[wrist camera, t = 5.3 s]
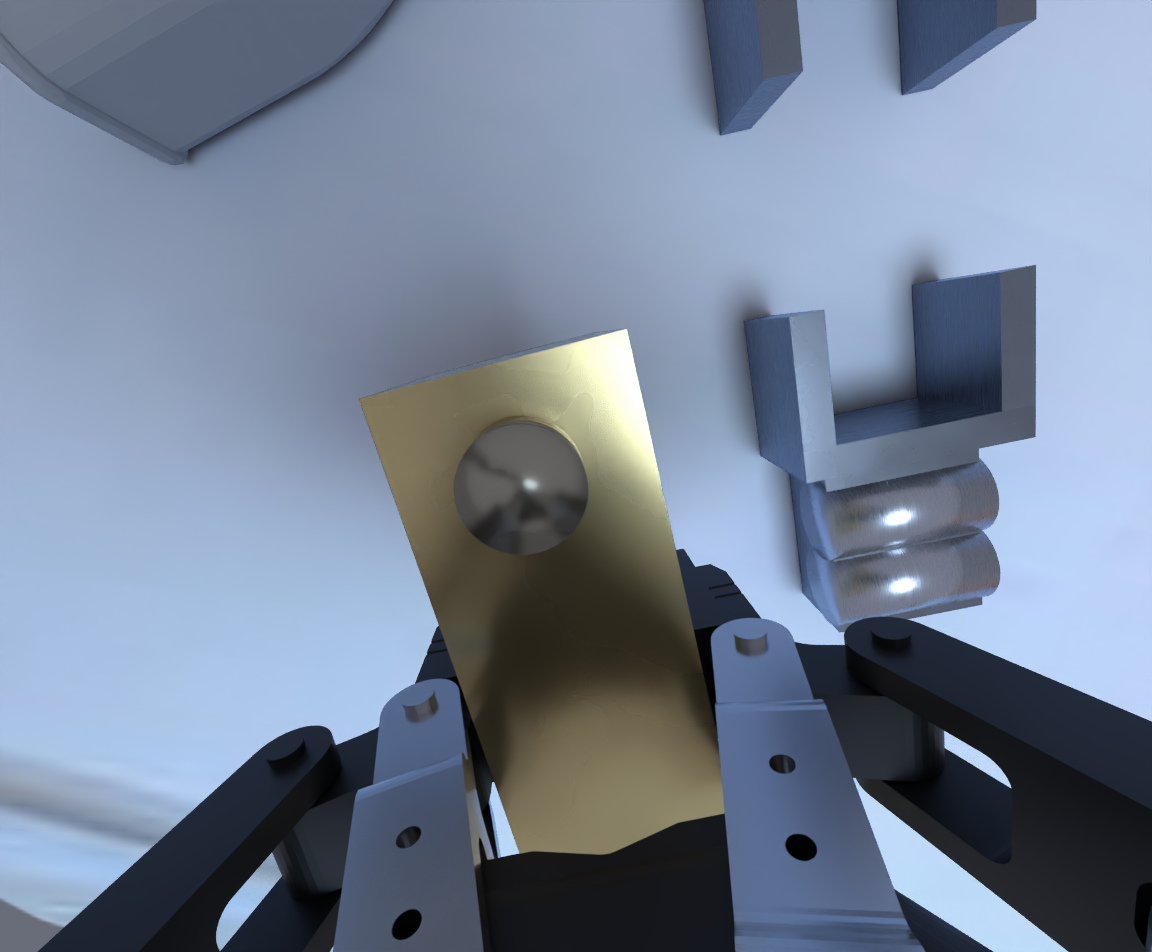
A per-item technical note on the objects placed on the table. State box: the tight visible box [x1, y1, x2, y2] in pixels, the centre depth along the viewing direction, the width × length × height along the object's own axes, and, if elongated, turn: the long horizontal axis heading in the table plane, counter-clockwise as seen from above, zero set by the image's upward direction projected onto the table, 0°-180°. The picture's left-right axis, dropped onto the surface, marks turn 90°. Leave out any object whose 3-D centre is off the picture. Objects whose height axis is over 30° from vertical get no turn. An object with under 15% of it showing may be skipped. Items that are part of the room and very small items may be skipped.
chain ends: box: [704, 0, 1036, 632], centre depth 17 cm, size 7×28×4 cm, turn 12°
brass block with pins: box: [359, 329, 725, 855], centre depth 10 cm, size 4×12×6 cm, turn 14°
